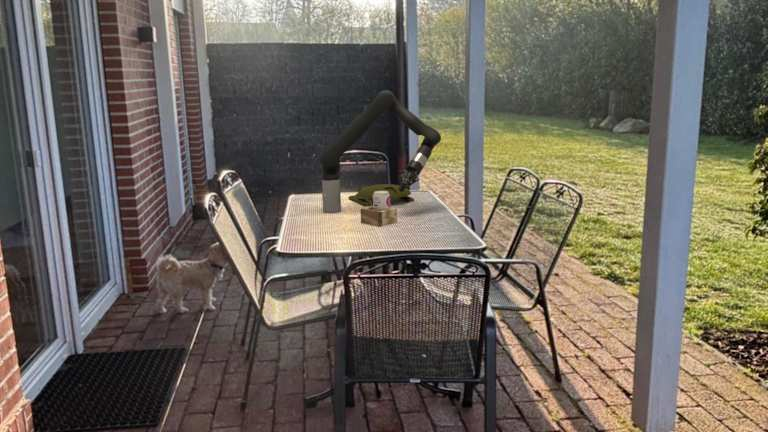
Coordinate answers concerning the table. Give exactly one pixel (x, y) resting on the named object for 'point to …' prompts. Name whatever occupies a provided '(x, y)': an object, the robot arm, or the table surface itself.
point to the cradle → (378, 216)
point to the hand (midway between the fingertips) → (400, 190)
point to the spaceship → (369, 191)
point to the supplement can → (381, 200)
